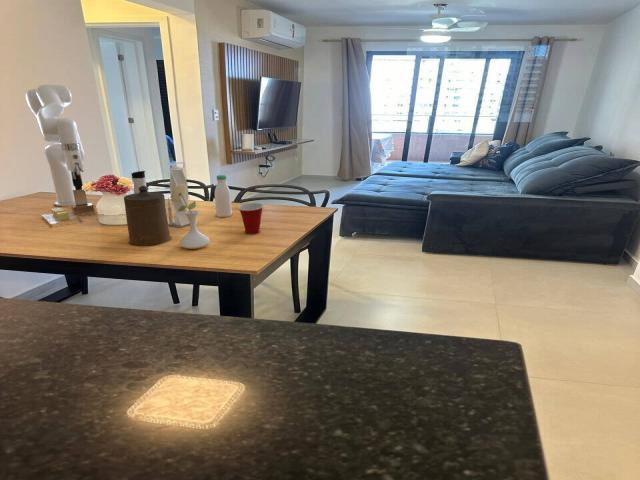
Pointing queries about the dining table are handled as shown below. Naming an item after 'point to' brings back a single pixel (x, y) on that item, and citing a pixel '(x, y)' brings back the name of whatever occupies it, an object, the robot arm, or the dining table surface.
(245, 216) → the plastic cup
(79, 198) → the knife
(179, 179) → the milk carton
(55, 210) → the butter
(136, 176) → the travel mug
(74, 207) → the knife block
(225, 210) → the milk bottle
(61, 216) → the butter slice
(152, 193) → the wooden container
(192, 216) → the flower in vase
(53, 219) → the board
